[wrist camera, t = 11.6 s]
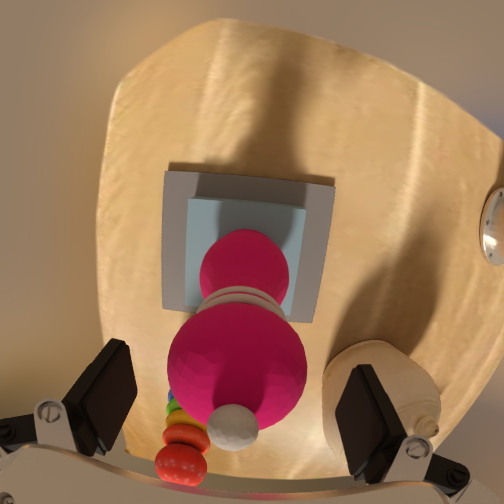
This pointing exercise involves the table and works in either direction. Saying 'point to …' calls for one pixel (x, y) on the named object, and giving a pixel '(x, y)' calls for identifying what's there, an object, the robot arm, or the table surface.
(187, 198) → the pedestal board
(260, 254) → the pepper mill
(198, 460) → the stacking toy
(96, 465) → the robot arm
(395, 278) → the table surface
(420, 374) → the jug
